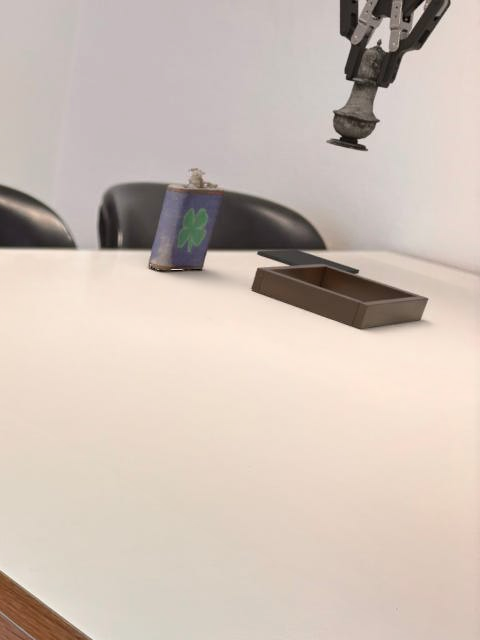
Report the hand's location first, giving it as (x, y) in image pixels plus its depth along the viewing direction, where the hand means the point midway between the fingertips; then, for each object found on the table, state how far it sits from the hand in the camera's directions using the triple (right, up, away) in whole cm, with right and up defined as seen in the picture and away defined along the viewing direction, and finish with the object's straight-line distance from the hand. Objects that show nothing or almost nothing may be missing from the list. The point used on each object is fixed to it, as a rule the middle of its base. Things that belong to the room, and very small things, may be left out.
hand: (366, 83), depth 131 cm
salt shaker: (-1, -6, +4) cm, 7 cm away
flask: (-25, -25, -7) cm, 36 cm away
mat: (-4, -18, +12) cm, 22 cm away
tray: (-7, -30, -9) cm, 32 cm away
